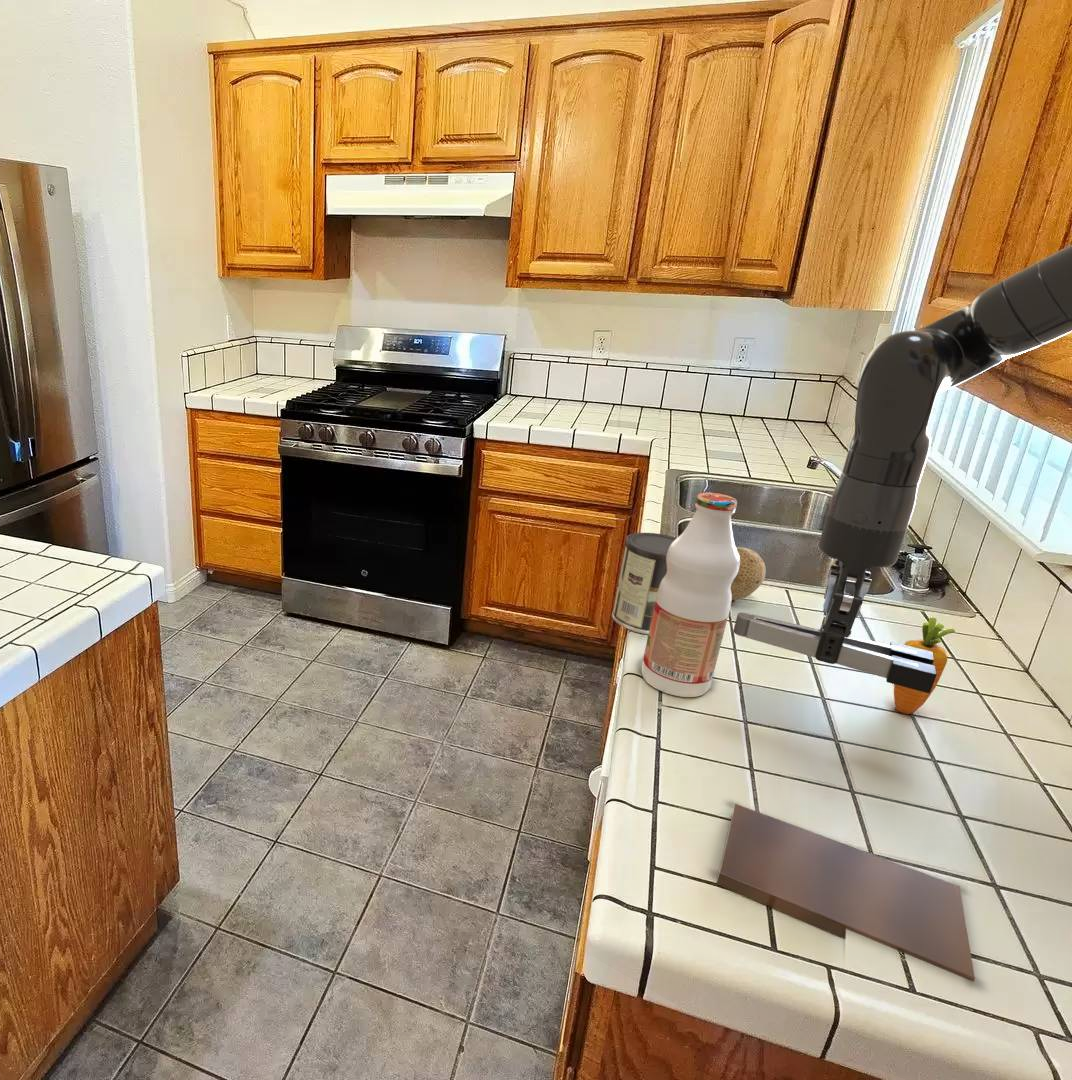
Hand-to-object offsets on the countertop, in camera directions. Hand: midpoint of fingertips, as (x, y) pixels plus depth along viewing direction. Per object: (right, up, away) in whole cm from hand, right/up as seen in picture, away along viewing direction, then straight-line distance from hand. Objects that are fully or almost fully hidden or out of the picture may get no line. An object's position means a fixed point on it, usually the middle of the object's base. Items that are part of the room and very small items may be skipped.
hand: (825, 653), depth 89 cm
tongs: (0, 0, 0) cm, 0 cm away
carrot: (+19, -11, +14) cm, 26 cm away
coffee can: (-7, 0, +38) cm, 38 cm away
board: (-9, -21, -15) cm, 28 cm away
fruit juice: (-9, -7, +20) cm, 23 cm away
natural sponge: (+12, +2, +47) cm, 49 cm away
